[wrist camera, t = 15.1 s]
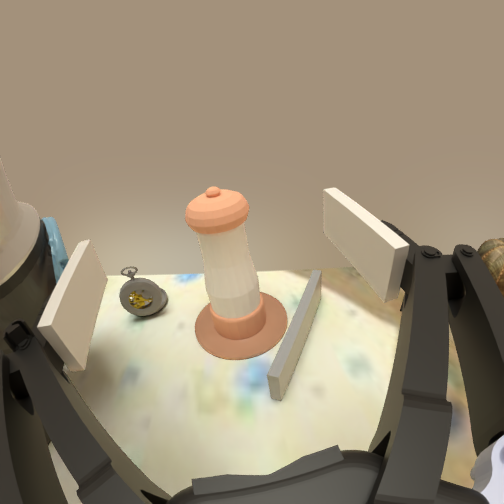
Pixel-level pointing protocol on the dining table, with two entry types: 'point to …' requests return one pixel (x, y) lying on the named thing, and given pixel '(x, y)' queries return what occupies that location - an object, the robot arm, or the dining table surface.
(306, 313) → the low wall
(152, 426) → the dining table surface
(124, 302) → the pocket watch
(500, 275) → the shell
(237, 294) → the pepper shaker
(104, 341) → the dining table surface
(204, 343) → the coaster
